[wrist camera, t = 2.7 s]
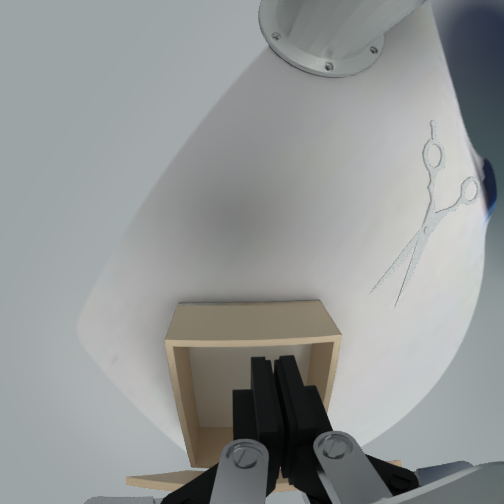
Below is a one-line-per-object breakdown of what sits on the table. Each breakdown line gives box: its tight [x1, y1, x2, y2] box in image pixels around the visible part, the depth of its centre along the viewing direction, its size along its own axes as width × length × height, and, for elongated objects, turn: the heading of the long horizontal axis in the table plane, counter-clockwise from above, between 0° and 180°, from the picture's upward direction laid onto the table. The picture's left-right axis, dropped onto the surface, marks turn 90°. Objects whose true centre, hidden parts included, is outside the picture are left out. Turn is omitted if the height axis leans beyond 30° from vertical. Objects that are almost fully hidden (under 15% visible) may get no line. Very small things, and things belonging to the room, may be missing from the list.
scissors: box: [371, 120, 480, 307], centre depth 28 cm, size 11×1×20 cm
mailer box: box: [165, 300, 342, 468], centre depth 28 cm, size 18×14×7 cm
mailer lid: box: [126, 460, 402, 493], centre depth 19 cm, size 20×15×1 cm
